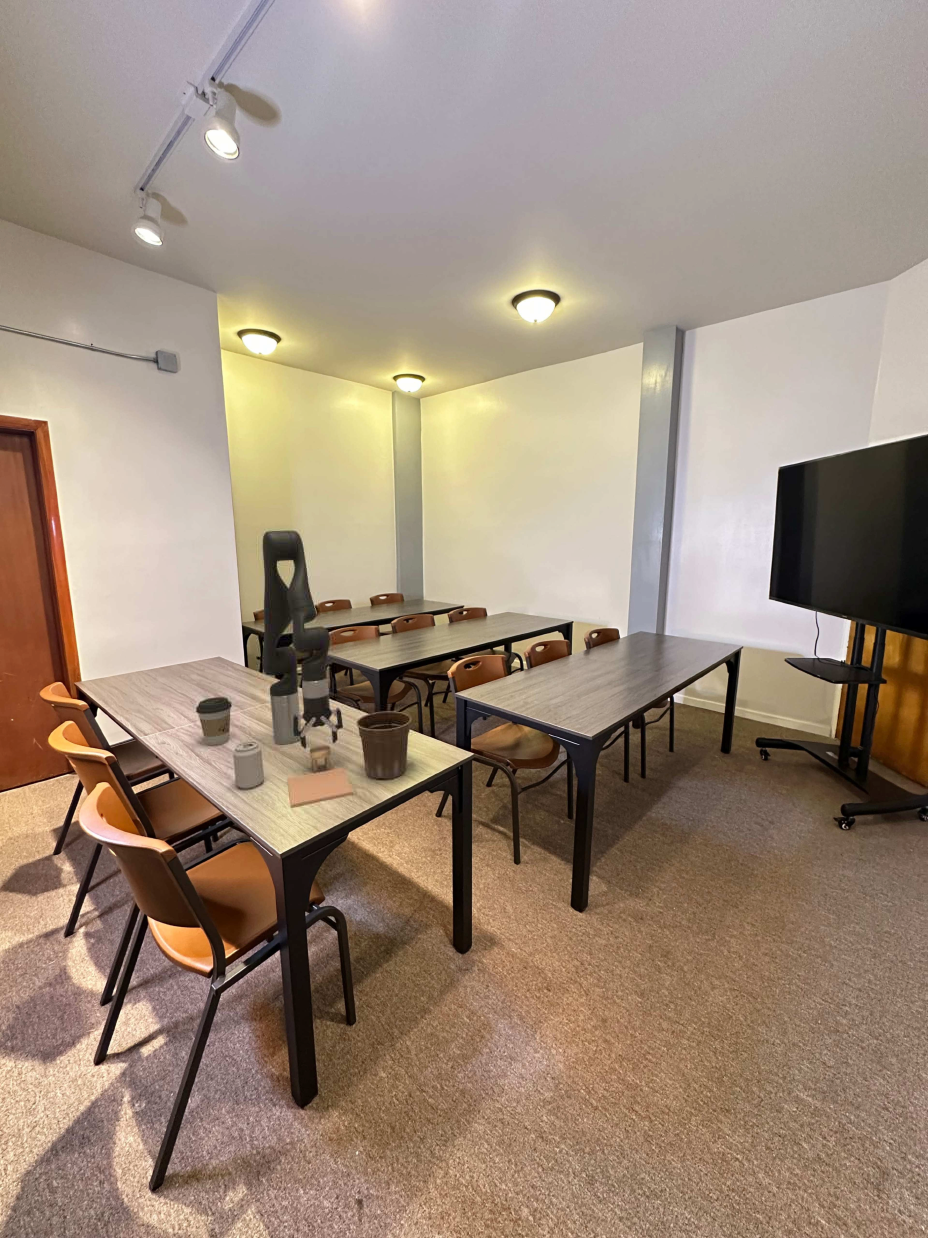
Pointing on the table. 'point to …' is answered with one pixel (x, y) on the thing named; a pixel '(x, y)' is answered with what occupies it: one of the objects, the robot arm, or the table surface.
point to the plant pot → (384, 743)
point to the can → (248, 764)
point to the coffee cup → (215, 720)
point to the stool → (320, 756)
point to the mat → (318, 787)
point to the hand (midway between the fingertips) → (319, 745)
